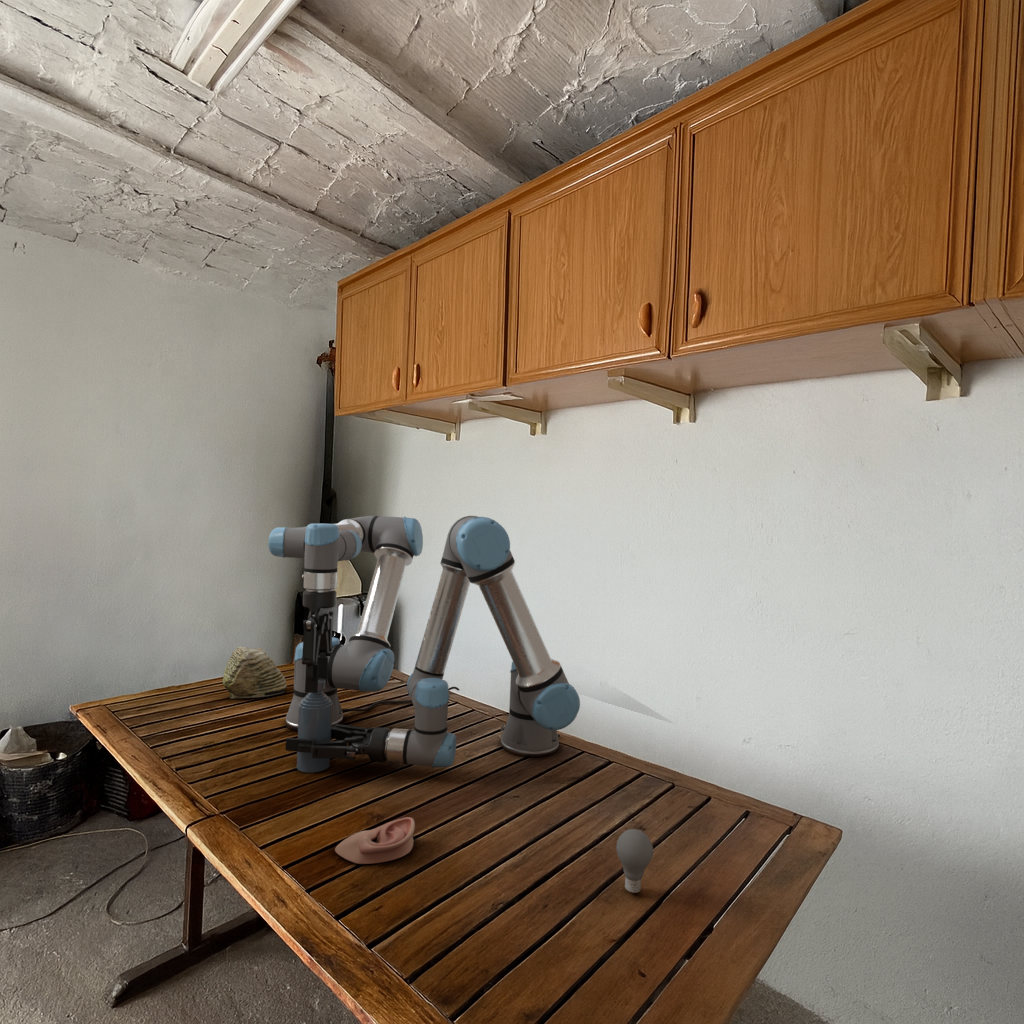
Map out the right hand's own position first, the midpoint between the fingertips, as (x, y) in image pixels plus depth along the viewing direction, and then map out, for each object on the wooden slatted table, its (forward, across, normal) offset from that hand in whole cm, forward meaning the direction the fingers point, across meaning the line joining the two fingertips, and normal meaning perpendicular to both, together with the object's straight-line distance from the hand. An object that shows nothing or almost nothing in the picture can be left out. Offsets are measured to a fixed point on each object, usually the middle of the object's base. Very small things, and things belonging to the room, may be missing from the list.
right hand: (294, 737), depth 149 cm
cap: (-5, 0, +14) cm, 15 cm away
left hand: (-5, 0, +12) cm, 13 cm away
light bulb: (-76, -36, -6) cm, 84 cm away
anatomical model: (-30, -31, -6) cm, 44 cm away
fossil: (+34, +46, -6) cm, 57 cm away
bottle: (-5, 0, -6) cm, 8 cm away
